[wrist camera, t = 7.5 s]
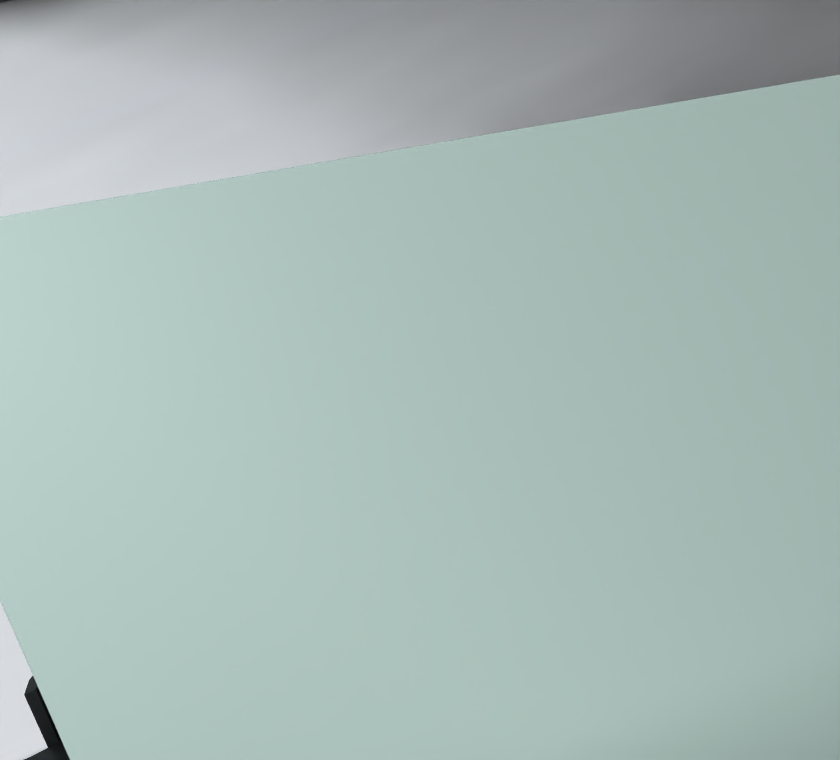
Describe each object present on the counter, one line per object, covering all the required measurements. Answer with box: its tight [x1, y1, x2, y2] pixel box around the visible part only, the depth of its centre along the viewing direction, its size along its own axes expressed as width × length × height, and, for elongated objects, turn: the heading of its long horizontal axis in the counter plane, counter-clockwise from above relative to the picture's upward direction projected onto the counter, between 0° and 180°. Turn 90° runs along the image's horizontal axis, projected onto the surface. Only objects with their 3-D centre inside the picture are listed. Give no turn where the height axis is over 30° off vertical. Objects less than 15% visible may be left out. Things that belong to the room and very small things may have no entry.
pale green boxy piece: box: [0, 75, 840, 760], centre depth 10 cm, size 14×9×10 cm, turn 10°
